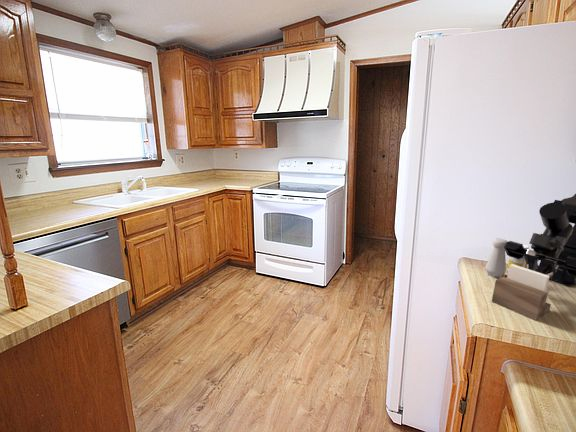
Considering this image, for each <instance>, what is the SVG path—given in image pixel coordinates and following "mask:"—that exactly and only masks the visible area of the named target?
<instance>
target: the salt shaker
mask: <svg viewBox="0 0 576 432" xmlns="http://www.w3.org/2000/svg"><path fill="white" fill-rule="evenodd" d="M506 242H508V240H506V239H505V238H494V239H493V241H492V245H493V248H492V251H491V253H490V256H489V258H488V261H487V263H486V265H485V271H486V273H487V276H490V277H492V278H497V279H499V278H501V277H503V275H505V273H506V270H507V268H506V267H507V266H506V265H507V263H506V251H505V249H504V245H505V244H506Z"/></svg>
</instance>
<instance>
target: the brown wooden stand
mask: <svg viewBox="0 0 576 432" xmlns="http://www.w3.org/2000/svg"><path fill="white" fill-rule="evenodd" d="M548 294H549V292H547V291H546V292H544V291H542V290H539V289H536V288H533V287H530V286H528V285H525V284H522V283H519V282H516V281H514V280H511V279H508V278H507V277H505V276H501V277H500V278H497V279H495V281H494V287H493V293H492V298H491V302H492V303H493V304H496V305H498V306H501V307H503V308H506V309H507V310H510V311H513V312H514V313H517V314H520V315H522V316H523V317H526V318H527V319H528V318H529V319H531V320H533V321H537V320H539V319H540V318H541V317H543V316H544V315H546V314H547V313H548V312H549V311H550V309H551V305H552V304H550V303H548V302H547V298H548V296H549V295H548Z"/></svg>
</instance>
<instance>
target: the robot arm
mask: <svg viewBox="0 0 576 432" xmlns="http://www.w3.org/2000/svg"><path fill="white" fill-rule="evenodd" d="M538 214H539V215H540V216H539V217H540V218H541V221H542V224H543V226H544V227H545V229H544V231H543V233H535V232H533V234H532V236H531V237H530V240H529V245H530V248H531V249H528V250H526V249H524V247H523V244H524V243H519V242H516V241H512V240H509V241H508V240H507V241H508V242H506V244H505V245H504V249H505V254H506V256H509V257H513V258H516V259H521V258H523V257H524V258H525V261H526V263H527V264H528V265H527V269H530V270H533V271H536V272H539V273H542V274H545V275H549V274H550V275H549V276H550V277H549V280H551V281H554V282H557V283H558V284H561V285H563V286H566V287H570V286H575V285H576V193H574V195H572V196H571V197H566V198H563V199H561V200H559V199H554V201H553V202H549V203H546V204H544V205H543V206H541V207H539V213H538ZM572 224H573V225H572ZM538 262H539V263H538ZM551 273H552V274H551Z"/></svg>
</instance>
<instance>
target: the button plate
mask: <svg viewBox="0 0 576 432" xmlns="http://www.w3.org/2000/svg"><path fill="white" fill-rule="evenodd" d="M549 277H550V275H549V274H547V275H545V274H542V273H539V272H536V271H533V270H530V269H528V268H527V269H526V268H523V267H520V266H517V265H514V264H511V265H510V266H509V271H508V270H507V276H506V278H508V279H511V280H514V281H516V282H519V283H522V284H525V285H528V286H530V287H533V288H536V289H539V290H542V291H544V292H547V289H548V285H549V284H548V283H549V281H550V279H549Z"/></svg>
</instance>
